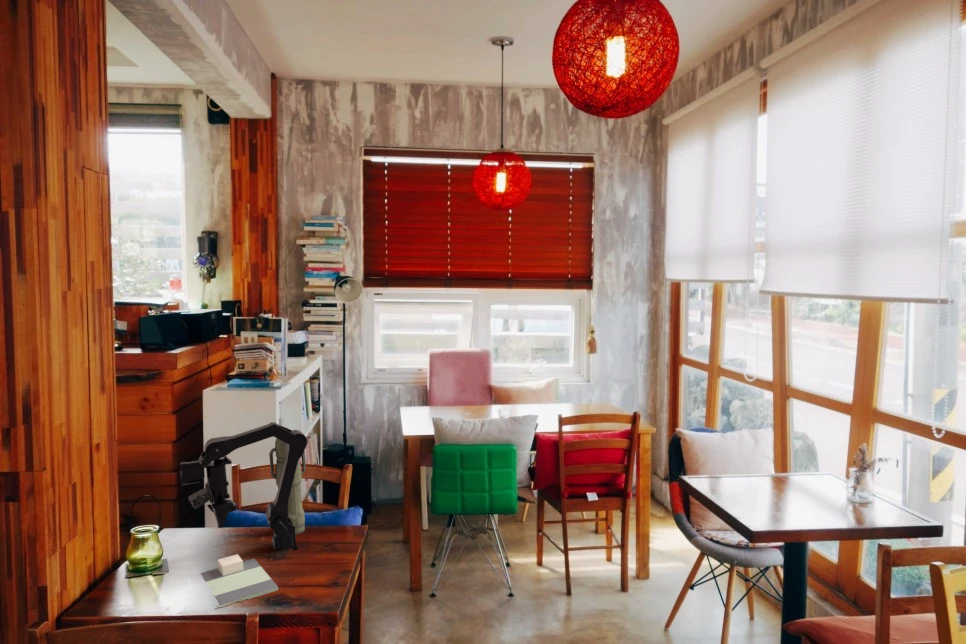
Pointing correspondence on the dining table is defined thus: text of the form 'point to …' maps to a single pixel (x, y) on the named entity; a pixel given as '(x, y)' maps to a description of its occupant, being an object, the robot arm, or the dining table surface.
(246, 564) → the mats
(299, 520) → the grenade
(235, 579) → the board
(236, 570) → the cream block
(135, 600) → the dining table surface
